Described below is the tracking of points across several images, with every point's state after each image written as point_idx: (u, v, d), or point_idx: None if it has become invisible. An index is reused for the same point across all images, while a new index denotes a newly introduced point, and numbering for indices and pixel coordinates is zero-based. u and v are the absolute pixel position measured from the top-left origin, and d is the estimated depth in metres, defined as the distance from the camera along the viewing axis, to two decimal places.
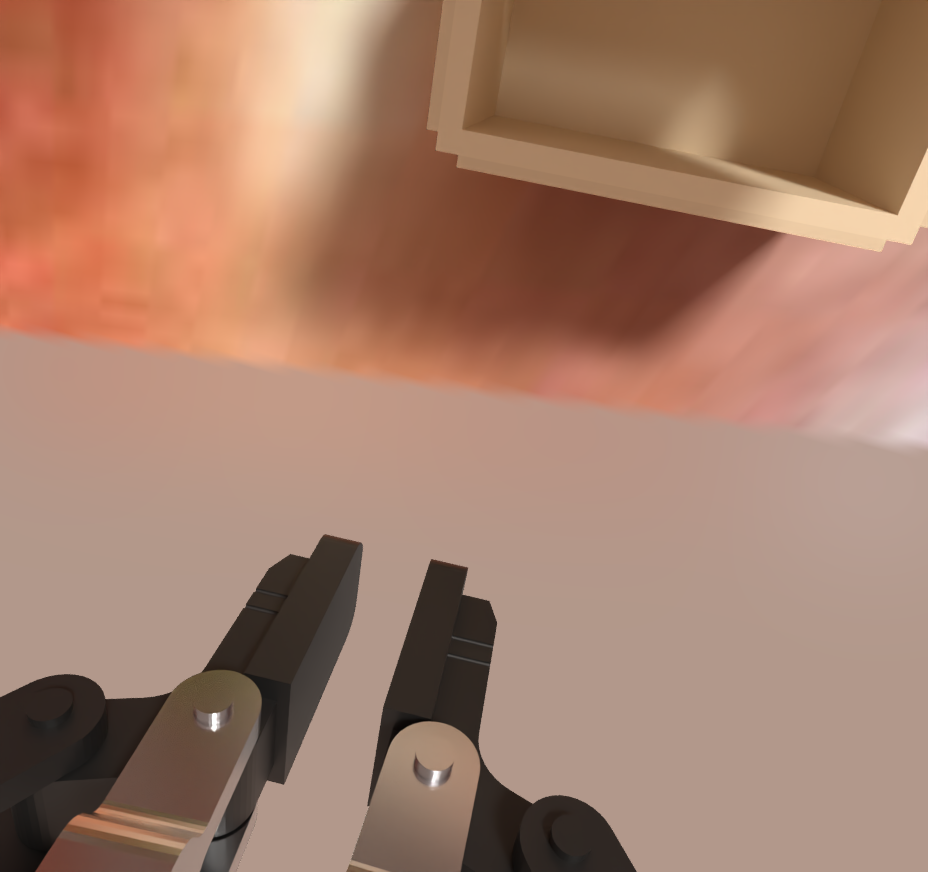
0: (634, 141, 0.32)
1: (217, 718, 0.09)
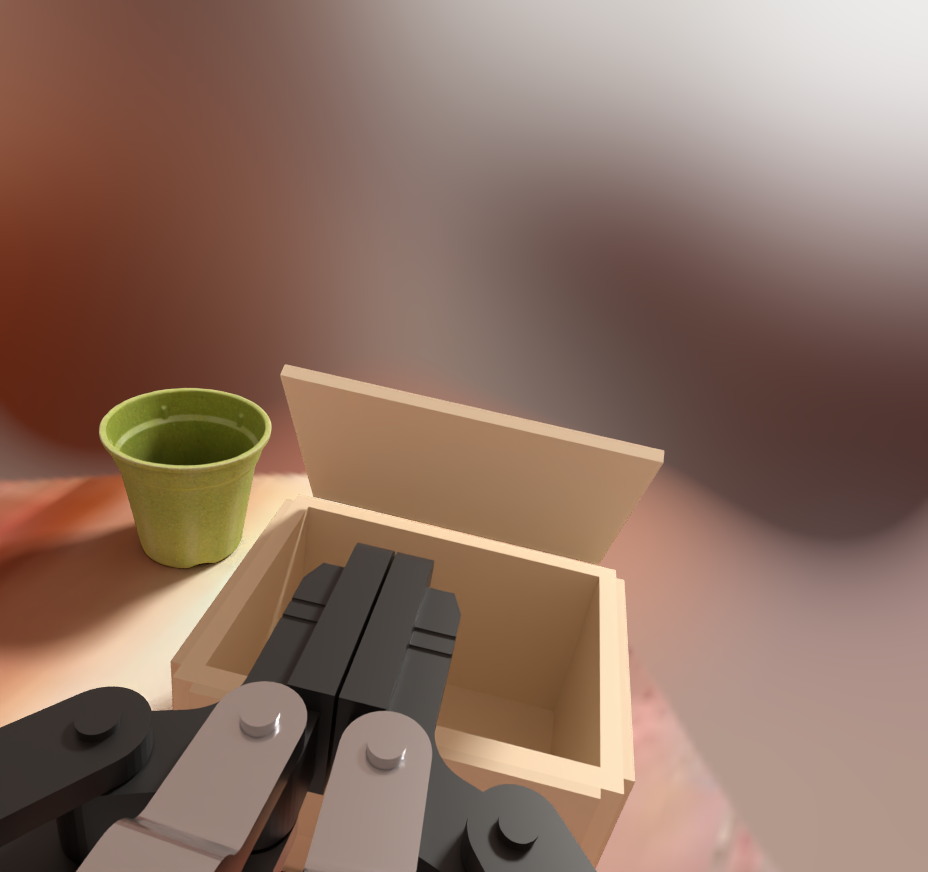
0: None
1: (262, 731, 0.09)
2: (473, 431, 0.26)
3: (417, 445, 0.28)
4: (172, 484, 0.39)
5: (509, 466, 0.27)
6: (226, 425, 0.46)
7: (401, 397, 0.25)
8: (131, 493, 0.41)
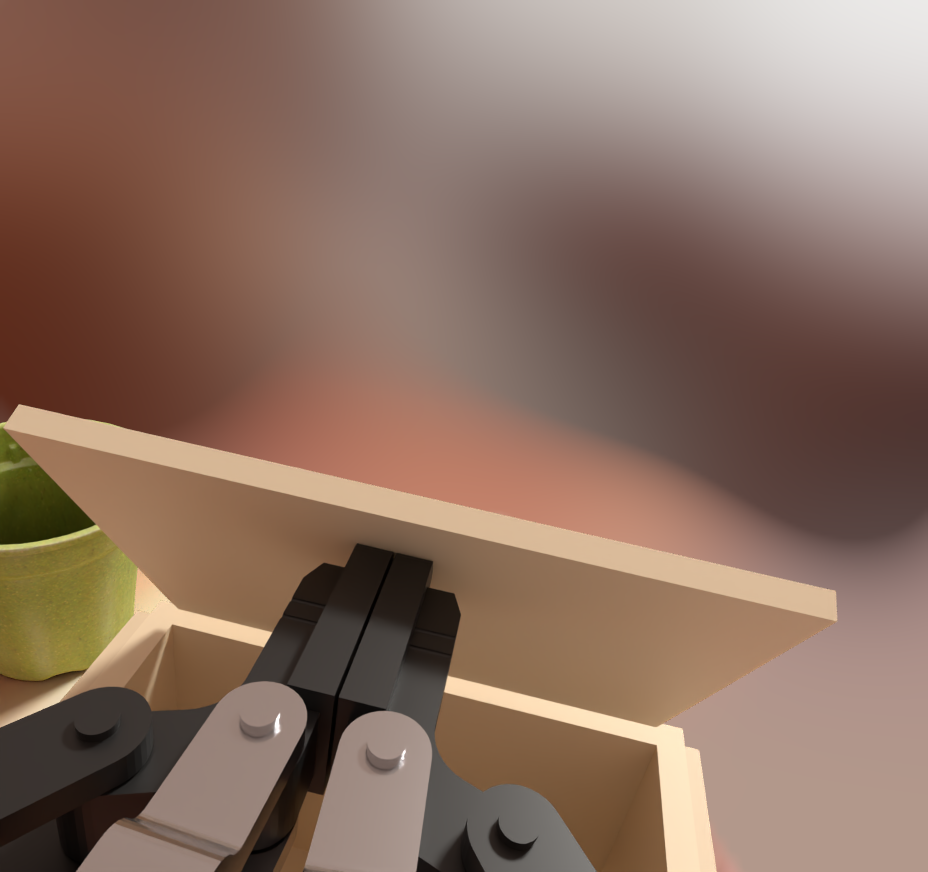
0: None
1: (262, 731, 0.09)
2: (416, 543, 0.12)
3: (314, 557, 0.14)
4: None
5: (496, 599, 0.14)
6: None
7: (257, 475, 0.12)
8: None
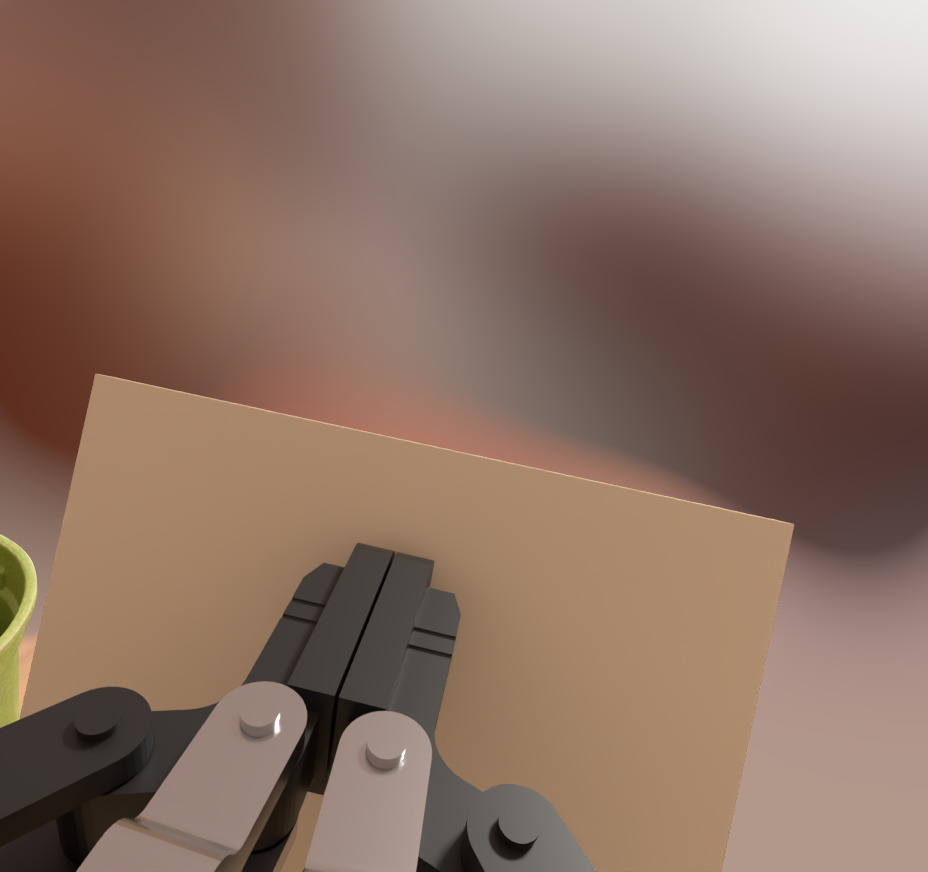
0: None
1: (262, 731, 0.09)
2: (435, 489, 0.14)
3: (310, 565, 0.14)
4: None
5: (494, 603, 0.14)
6: None
7: (309, 420, 0.14)
8: None
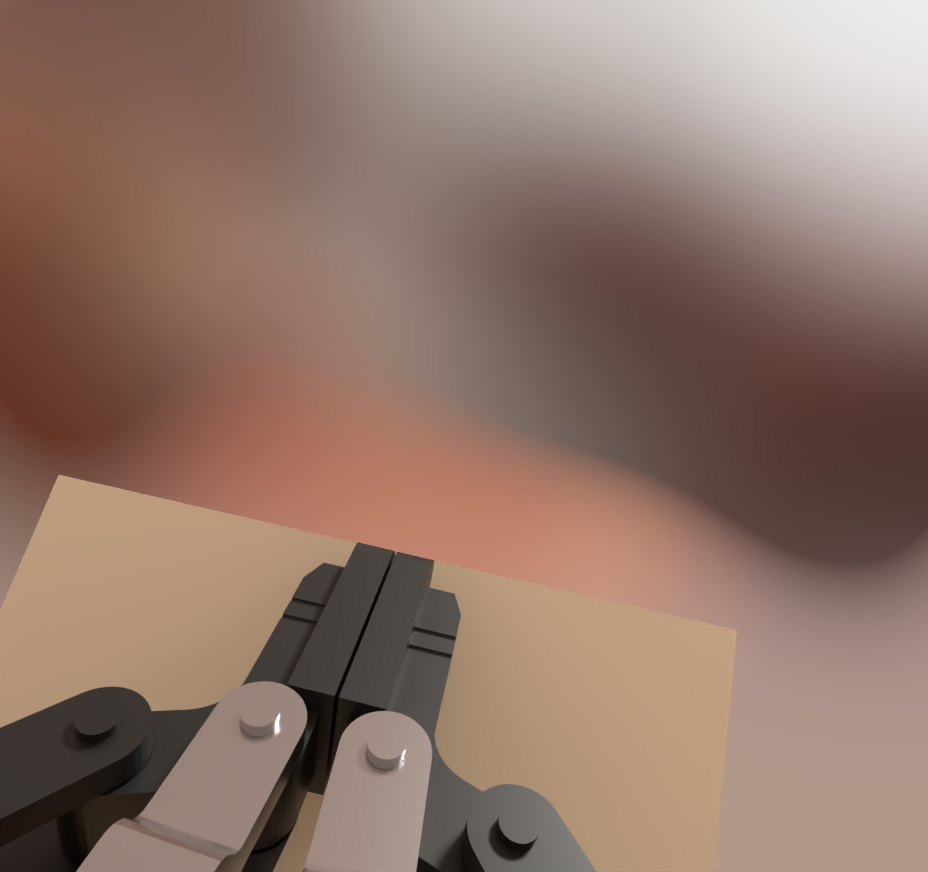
0: None
1: (262, 731, 0.09)
2: None
3: None
4: None
5: (448, 713, 0.13)
6: None
7: (270, 524, 0.14)
8: None
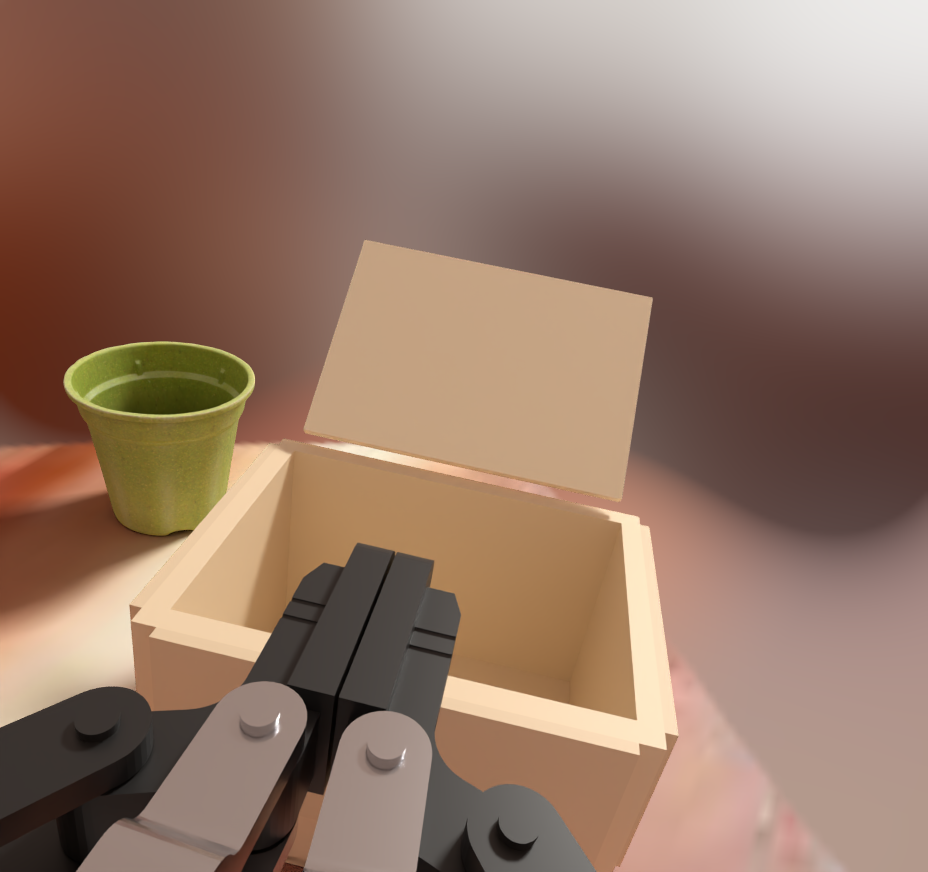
0: None
1: (261, 731, 0.09)
2: (508, 283, 0.33)
3: (456, 310, 0.33)
4: (144, 437, 0.35)
5: (534, 325, 0.33)
6: (206, 382, 0.42)
7: (455, 260, 0.34)
8: (100, 450, 0.37)
